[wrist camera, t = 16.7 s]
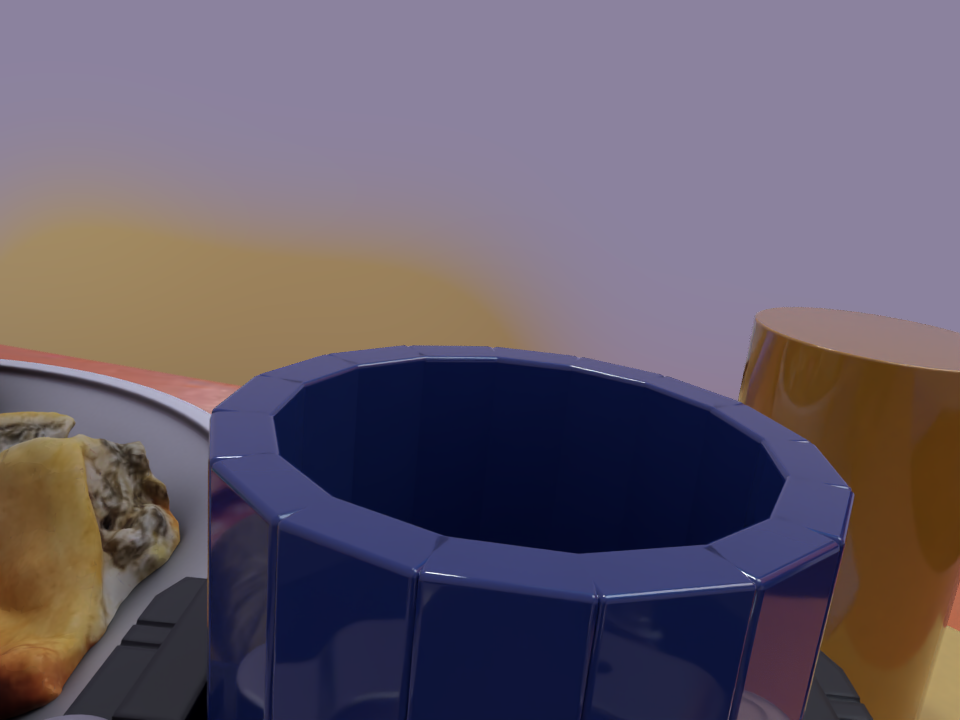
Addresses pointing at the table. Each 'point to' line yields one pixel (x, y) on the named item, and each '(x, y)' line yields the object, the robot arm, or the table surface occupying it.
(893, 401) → the glossy amber cylinder
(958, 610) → the table surface
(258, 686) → the navy cup
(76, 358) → the table surface
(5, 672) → the bowl
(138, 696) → the robot arm
